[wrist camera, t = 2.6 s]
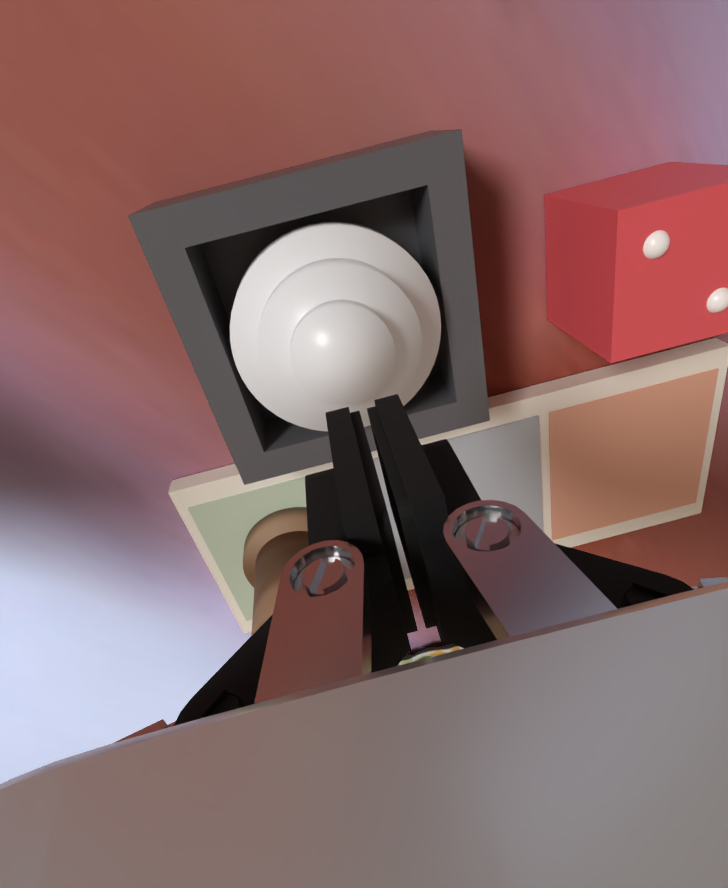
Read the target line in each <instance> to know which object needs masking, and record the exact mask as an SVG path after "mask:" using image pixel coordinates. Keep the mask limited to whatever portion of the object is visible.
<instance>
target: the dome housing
mask: <svg viewBox="0 0 728 888" xmlns="http://www.w3.org/2000/svg"><path fill="white" fill-rule="evenodd" d="M128 217H129V219H130V222H131V224H132V226H133V229H134V231H135V233H136V236H137V238H138V240H139V243H140V245H141V247H142V250H143V252H144V254H145V256H146V259H147V261H148V263H149V266H150V268H151V270H152V273H153V275H154V277H155V280H156V282H157V284H158V287H159V289H160V291H161V294H162V296H163V298H164V300H165V303H166V305H167V307H168V310H169V312H170V314H171V317H172V319H173V321H174V324H175V326H176V328H177V331H178V333H179V335H180V337H181V340H182V342H183V344H184V347H185V349H186V351H187V354H188V356H189V358H190V361H191V363H192V365H193V368H194V370H195V372H196V375H197V377H198V379H199V381H200V384H201V386H202V388H203V391H204V393H205V395H206V398H207V400H208V402H209V405H210V407H211V409H212V412H213V414H214V416H215V419H216V421H217V423H218V425H219V428H220V430H221V432H222V435H223V437H224V439H225V442H226V444H227V446H228V449H229V451H230V453H231V456H232V458H233V460H234V463H235V465H236V467H237V469H238V472H239V474H240V476H241V479H242V481H243V483H244V485H246V484H250V483H254V482H258V481H262V480H265V479H269V478H273V477H277V476H281V475H284V474H288V473H292V472H296V471H300V470H304V469H307V468H311V467H315V466H319V465H323V464H326V463H330V462H333V461H332V455H331V448H330V441H329V434H328V431H318V430H311V429H308V428H304V427H300V426H297V425H295V424H292V423H290V422H287V421H286V420H284V419H282V418H280V417H278V416H277V415H275V414H274V413H272V412H271V411H270V410H268V409H267V408H266V407H265V406H263V405H262V404H261V403H260V402H259V401H258V400H257V399H256V398H255V396H254V395H253V394H252V393H251V392H250V390H249V389H248V388H247V386H246V384H245V383H244V381H243V380H242V378H241V376H240V374H239V372H238V369H237V367H236V364H235V361H234V358H233V354H232V349H231V343H230V320H231V312H232V308H233V304H234V301H235V297H236V293H237V290H238V287H239V285H240V282H241V280H242V278H243V275H244V274H245V272H246V270H247V269H248V267H249V265H250V264H251V263H252V261H253V260H254V259H255V258H256V256H257V255H258V254H259V253H260V252H261V251H262V250H263V249H264V248H265V247H266V246H267V245H268V244H269V243H271V242H272V241H274V240H275V239H277V238H278V237H279V236H281V235H283V234H285V233H287V232H289V231H290V230H292V229H295V228H297V227H300V226H303V225H306V224H310V223H316V222H321V221H345V222H353V223H357V224H361V225H365V226H367V227H370V228H372V229H375V230H377V231H379V232H381V233H383V234H384V235H386V236H388V237H389V238H391V239H392V240H393V241H395V242H396V243H397V244H398V245H400V246H401V247H402V248H403V249H404V250H405V251H406V252H408V253H409V254H410V255H411V256H412V258H413V259H414V260H415V261H416V262H417V263H418V264H419V265H420V267H421V268H422V269H423V271H424V272H425V274H426V275H427V277H428V279H429V281H430V283H431V285H432V287H433V289H434V292H435V295H436V297H437V300H438V305H439V310H440V317H441V337H440V344H439V349H438V354H437V357H436V360H435V363H434V365H433V367H432V370H431V372H430V374H429V376H428V378H427V379H426V381H425V382H424V384H423V385H422V387H421V388H420V389H419V391H418V392H417V393H416V394H415V396H414V397H413V398H412V399H411V400H410V401H409V402H408V403H407V404H406V405H404V409H405V411H406V413H407V415H408V417H409V420H410V422H411V424H412V426H413V428H414V430H415V433H416V435H417V437H418V439H422V438H425V437H429V436H433V435H437V434H441V433H445V432H448V431H452V430H456V429H460V428H464V427H467V426H471V425H475V424H479V423H483V422H486V421H490V416H489V406H488V396H487V385H486V375H485V365H484V355H483V344H482V334H481V324H480V314H479V303H478V293H477V283H476V273H475V262H474V252H473V242H472V231H471V221H470V211H469V201H468V190H467V180H466V170H465V160H464V149H463V139H462V129H460V130H439V131H429V132H425V133H421V134H417V135H413V136H410V137H406V138H402V139H398V140H394V141H390V142H386V143H383V144H379V145H375V146H371V147H367V148H363V149H359V150H355V151H352V152H348V153H344V154H340V155H336V156H332V157H328V158H325V159H321V160H317V161H313V162H309V163H305V164H301V165H298V166H294V167H290V168H286V169H282V170H278V171H274V172H271V173H267V174H263V175H259V176H255V177H251V178H247V179H244V180H240V181H236V182H232V183H228V184H224V185H220V186H217V187H213V188H209V189H205V190H201V191H197V192H193V193H190V194H186V195H182V196H178V197H174V198H170V199H166V200H163V201H159V202H155V203H152V204H150V205H148V206H146V207H144V208H143V209H141V210H139V211H137V212H135V213H133V214H131V215H129V216H128ZM364 429H365V432H366V436H367V440H368V443H369V447H370V450H371V452H372V451H376V450H377V449H376V445H375V441H374V437H373V433H372V429H371V425H369V426H366V427H364Z"/></svg>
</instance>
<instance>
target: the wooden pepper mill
mask: <svg viewBox="0 0 728 888" xmlns="http://www.w3.org/2000/svg"><path fill="white" fill-rule="evenodd" d="M308 546H309V545H308V526H307V508H306V507H293V508H286V509H282V510H278V511H275V512H273V513H271V514H269V515H267V516H265V517H264V518H262V519H261V520H259V521H258V522H257V523H256V524H255V525H254V526H253V527H252V529H251V530H250V531H249V533H248V535H247V537H246V540H245V544H244V553H243V570H244V574H245V576H246V578H247V580H248V582H249V583H250V584H251V585H252V586H253V587H254V601H253V618H252V635H253V634H254V633H255V632H256V631H257V630H258V629H259V628H260V627H261V626H262V625H263V624H264V623H265V622H266V621H267V620H268V619H269V617H270V616H271V615H272V614H273V611H274V606H275V601H276V596H277V592H278V587H279V582H280V577H281V574H282V572H283V569H284V567H285V565H286V564H287V563H288V562H289V560H290V559H291V558H292V557H293V556H294V555H295V554H297V553H298V552H299V551H300V550H302V549H304V548H306V547H308ZM252 635H251V636H252Z"/></svg>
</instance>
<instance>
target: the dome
mask: <svg viewBox="0 0 728 888" xmlns="http://www.w3.org/2000/svg"><path fill="white" fill-rule="evenodd" d="M440 337H441V317H440V310H439V305H438V300H437V297H436V295H435V292H434V289H433V287H432V285H431V283H430V281H429V279H428V277H427V275H426V274H425V272H424V271H423V269H422V268H421V267H420V265H419V264H418V263H417V262H416V261H415V260H414V259H413V258H412V256H411V255H410V254H409V253H408V252H406V251H405V250H404V249H403V248H402V247H401V246H400V245H398V244H397V243H396V242H395V241H393V240H392V239H391V238H389V237H388V236H386V235H384V234H383V233H381V232H379V231H377V230H375V229H372V228H370V227H367V226H365V225H361V224H357V223H353V222H345V221H321V222H316V223H310V224H306V225H303V226H300V227H297V228H295V229H292V230H290V231H289V232H287V233H285V234H283V235H281V236H279V237H278V238H277V239H275V240H274V241H272V242H271V243H269V244H268V245H267V246H266V247H265V248H264V249H263V250H262V251H261V252H260V253H259V254H258V255H257V256H256V258H255V259H254V260H253V261H252V263H251V264H250V265H249V267H248V269H247V270H246V272H245V274H244V275H243V278H242V280H241V282H240V285H239V287H238V290H237V293H236V297H235V301H234V304H233V308H232V312H231V320H230V343H231V349H232V354H233V358H234V361H235V364H236V367H237V369H238V372H239V374H240V376H241V378H242V380H243V381H244V383H245V384H246V386H247V388H248V389H249V390H250V392H251V393H252V394H253V395H254V396H255V398H256V399H257V400H258V401H259V402H260V403H261V404H262V405H263V406H265V407H266V408H267V409H268V410H270V411H271V412H272V413H274V414H275V415H277V416H278V417H280V418H282V419H284V420H286V421H287V422H290V423H292V424H295V425H297V426H300V427H304V428H308V429H311V430H318V431H328V428H327V421H326V414H325V413H326V412H330V411H334V410H338V409H341V408H345V407H349V410H350V413H351V412H355V411H360V415H361V418H362V422H363V425H364V427H366V426H369V425H370V420H369V416H368V412H367V408H370V407H374V406H375V402H374V400H376V399H380V398H384V397H387V396H391V395H395V394H398V396H399V398H400V400H401V402H402V404H403V406H404V405H406V404H407V403H408V402H409V401H410V400H411V399H412V398H413V397H414V396H415V394H416V393H417V392H418V391H419V389H420V388H421V387H422V385H423V384H424V382H425V381H426V379H427V378H428V376H429V374H430V372H431V370H432V367H433V365H434V363H435V360H436V357H437V354H438V349H439V344H440Z"/></svg>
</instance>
